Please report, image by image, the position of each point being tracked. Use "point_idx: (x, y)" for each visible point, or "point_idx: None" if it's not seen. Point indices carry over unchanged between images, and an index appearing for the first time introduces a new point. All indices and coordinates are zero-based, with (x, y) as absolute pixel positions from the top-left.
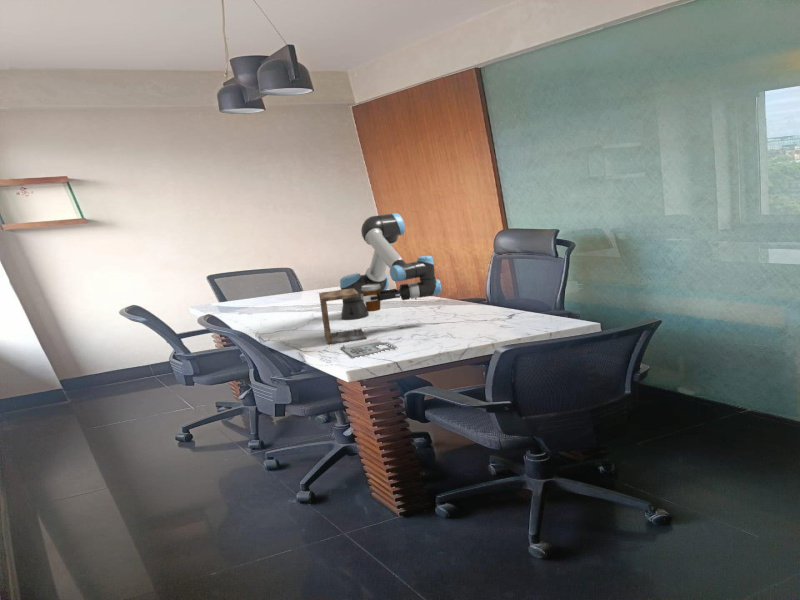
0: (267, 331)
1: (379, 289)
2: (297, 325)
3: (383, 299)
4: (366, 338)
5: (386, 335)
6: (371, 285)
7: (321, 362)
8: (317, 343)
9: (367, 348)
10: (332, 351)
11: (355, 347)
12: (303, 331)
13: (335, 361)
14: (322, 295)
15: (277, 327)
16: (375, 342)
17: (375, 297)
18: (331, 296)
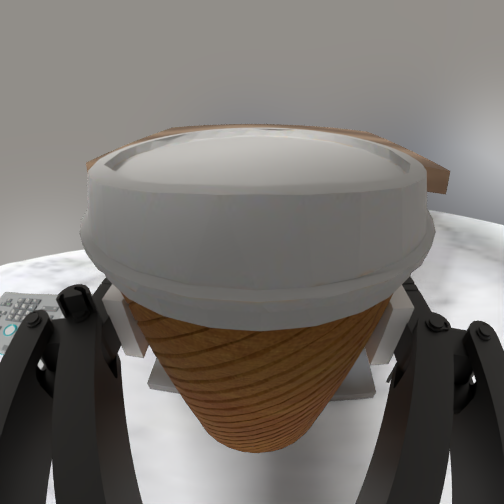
0: (450, 220)
1: (130, 294)
2: (495, 252)
3: (39, 381)
4: (149, 386)
5: (140, 475)
6: (326, 161)
7: (47, 257)
8: None
9: (14, 330)
10: (99, 281)
11: (58, 318)
12: (436, 256)
13: (25, 272)
14: (268, 125)
15: (480, 231)
16: None
17: (95, 302)
18: (185, 130)
